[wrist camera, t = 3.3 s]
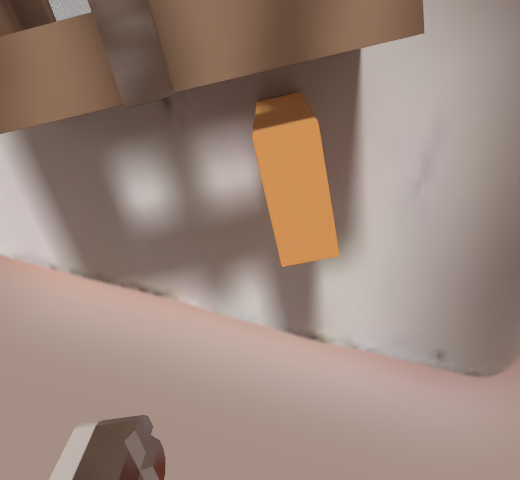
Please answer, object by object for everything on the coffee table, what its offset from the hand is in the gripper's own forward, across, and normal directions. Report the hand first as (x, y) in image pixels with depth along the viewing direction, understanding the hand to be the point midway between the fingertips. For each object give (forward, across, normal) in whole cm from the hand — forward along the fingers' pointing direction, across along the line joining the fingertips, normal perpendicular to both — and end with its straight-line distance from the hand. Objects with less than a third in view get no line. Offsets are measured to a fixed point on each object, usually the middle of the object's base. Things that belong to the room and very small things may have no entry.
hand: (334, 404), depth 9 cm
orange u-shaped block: (+24, 0, 0) cm, 24 cm away
